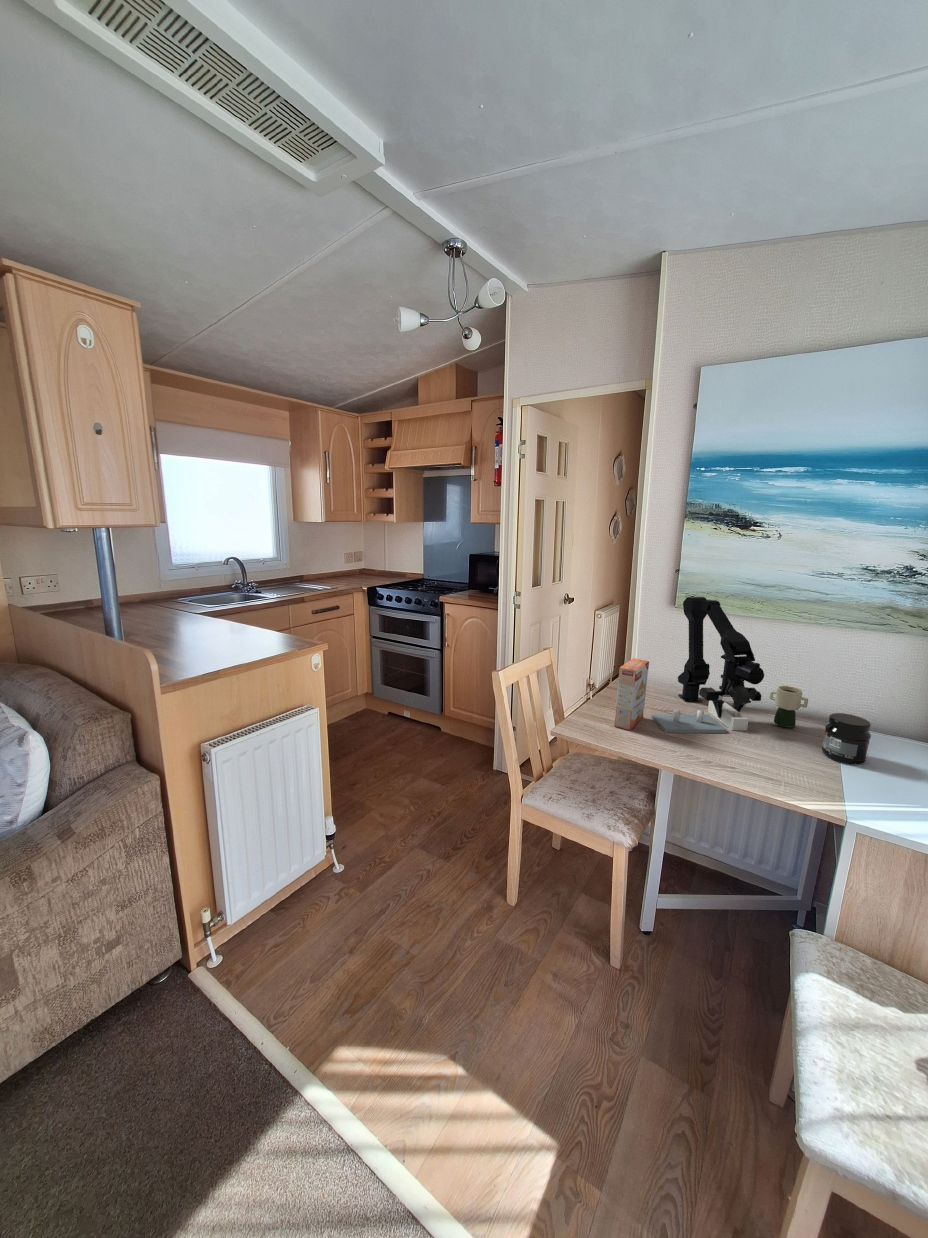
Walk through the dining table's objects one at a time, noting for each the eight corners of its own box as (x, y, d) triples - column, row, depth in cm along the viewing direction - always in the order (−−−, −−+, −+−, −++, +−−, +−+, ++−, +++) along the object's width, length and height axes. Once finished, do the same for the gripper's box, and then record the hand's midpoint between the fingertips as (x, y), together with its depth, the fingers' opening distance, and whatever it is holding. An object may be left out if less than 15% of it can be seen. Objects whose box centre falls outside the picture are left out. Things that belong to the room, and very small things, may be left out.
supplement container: (862, 754, 146) (869, 716, 144) (868, 769, 137) (876, 730, 135) (819, 745, 151) (825, 709, 149) (822, 760, 143) (829, 721, 140)
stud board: (651, 717, 171) (652, 704, 170) (707, 717, 171) (709, 704, 170) (665, 732, 159) (666, 718, 158) (726, 732, 160) (728, 718, 159)
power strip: (732, 730, 162) (733, 717, 161) (707, 711, 177) (709, 699, 176) (747, 730, 162) (748, 717, 161) (721, 711, 177) (723, 699, 176)
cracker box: (631, 731, 160) (637, 670, 155) (613, 726, 163) (618, 666, 159) (644, 717, 171) (650, 660, 166) (627, 713, 174) (632, 657, 170)
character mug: (805, 727, 165) (811, 690, 162) (800, 733, 160) (807, 696, 157) (768, 717, 172) (774, 682, 169) (762, 723, 167) (768, 687, 164)
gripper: (717, 682, 158) (711, 727, 161) (774, 682, 158) (768, 727, 162) (700, 671, 169) (695, 713, 172) (754, 671, 169) (748, 714, 173)
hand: (726, 717), depth 169 cm, fingers closed on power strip, 5 cm apart
